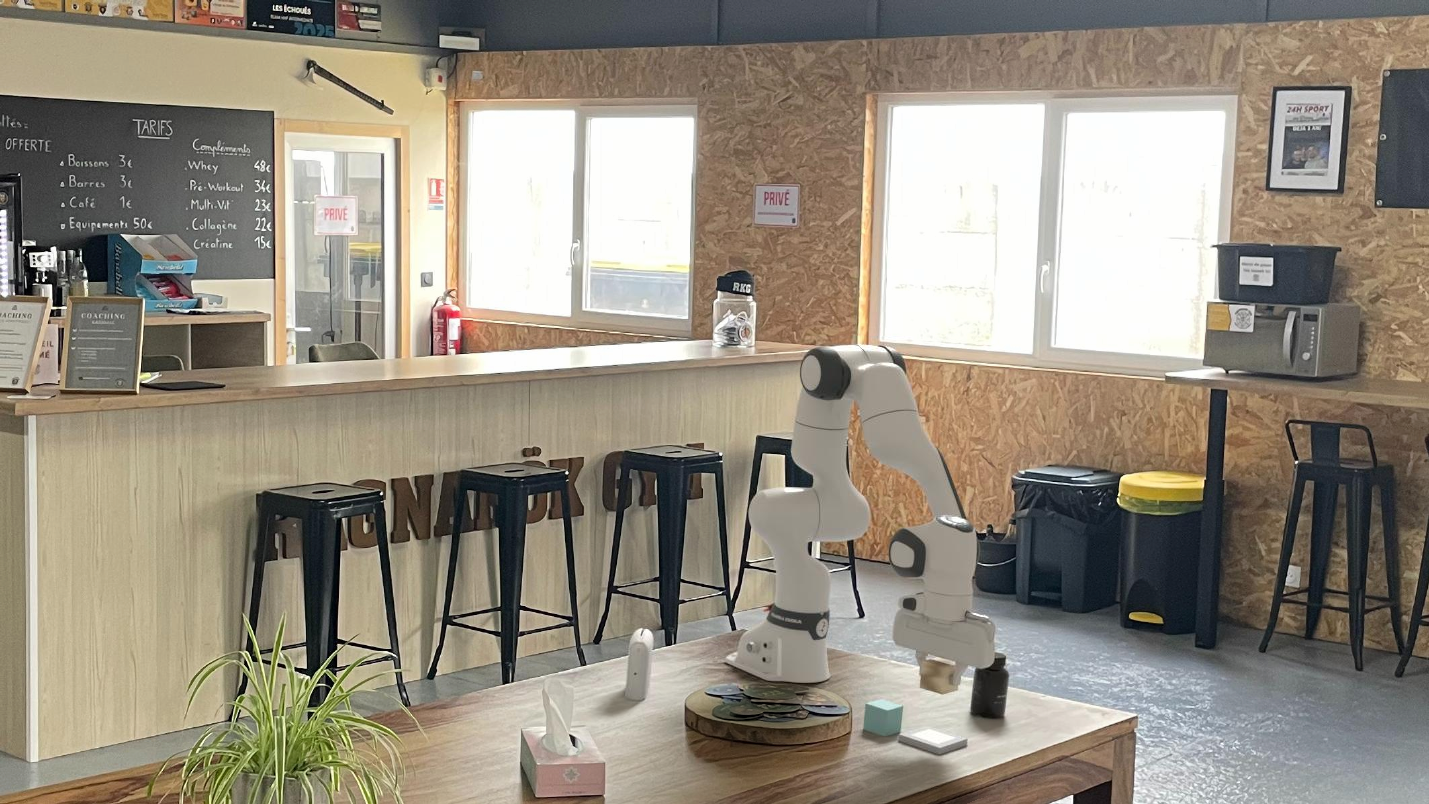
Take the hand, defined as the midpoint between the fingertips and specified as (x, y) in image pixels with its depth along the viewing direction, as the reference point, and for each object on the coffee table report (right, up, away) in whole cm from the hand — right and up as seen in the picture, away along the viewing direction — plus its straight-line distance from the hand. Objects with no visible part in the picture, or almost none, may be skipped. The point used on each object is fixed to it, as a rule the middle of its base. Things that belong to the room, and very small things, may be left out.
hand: (939, 680), depth 288 cm
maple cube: (0, -2, 0) cm, 2 cm away
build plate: (-1, -12, +1) cm, 12 cm away
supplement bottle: (+13, -11, +23) cm, 28 cm away
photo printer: (-56, -6, +17) cm, 59 cm away
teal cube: (-10, -11, +7) cm, 16 cm away
